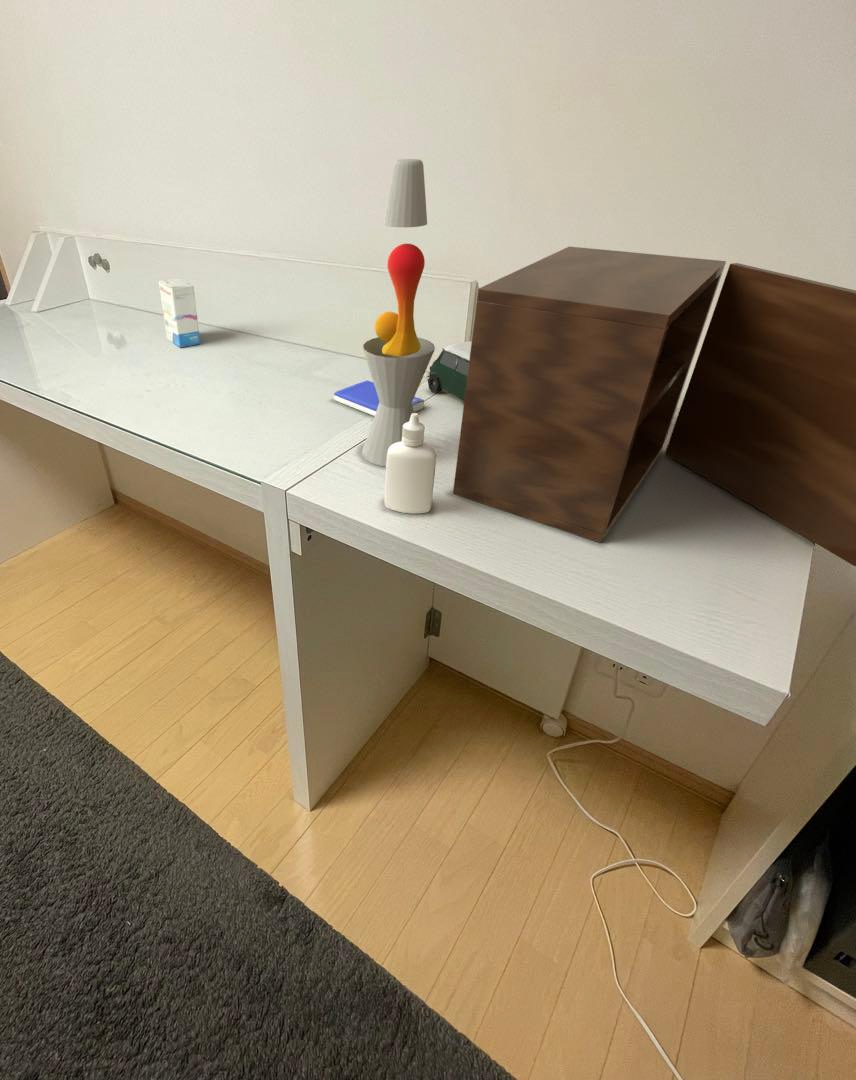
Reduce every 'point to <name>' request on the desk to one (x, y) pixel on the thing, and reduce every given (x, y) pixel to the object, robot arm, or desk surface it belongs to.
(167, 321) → the ink box
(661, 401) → the cupboard
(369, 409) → the blue book
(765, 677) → the desk surface
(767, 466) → the door
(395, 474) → the eye dropper bottle
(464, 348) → the miniature car
